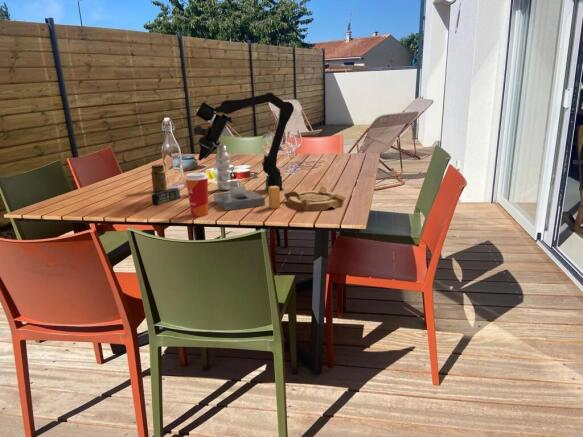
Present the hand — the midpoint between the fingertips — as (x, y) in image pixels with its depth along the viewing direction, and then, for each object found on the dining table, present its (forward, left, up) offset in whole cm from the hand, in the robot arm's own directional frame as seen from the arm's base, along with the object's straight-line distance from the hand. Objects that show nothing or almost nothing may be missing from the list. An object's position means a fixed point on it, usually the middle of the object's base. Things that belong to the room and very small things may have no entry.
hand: (201, 159), depth 191 cm
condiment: (+18, -12, -15) cm, 26 cm away
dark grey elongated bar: (+17, +9, -15) cm, 25 cm away
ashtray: (-33, +42, -15) cm, 56 cm away
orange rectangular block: (-17, +40, -15) cm, 46 cm away
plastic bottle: (-9, 0, -15) cm, 18 cm away
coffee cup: (+11, +36, -15) cm, 40 cm away
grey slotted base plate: (-7, +27, -15) cm, 32 cm away
